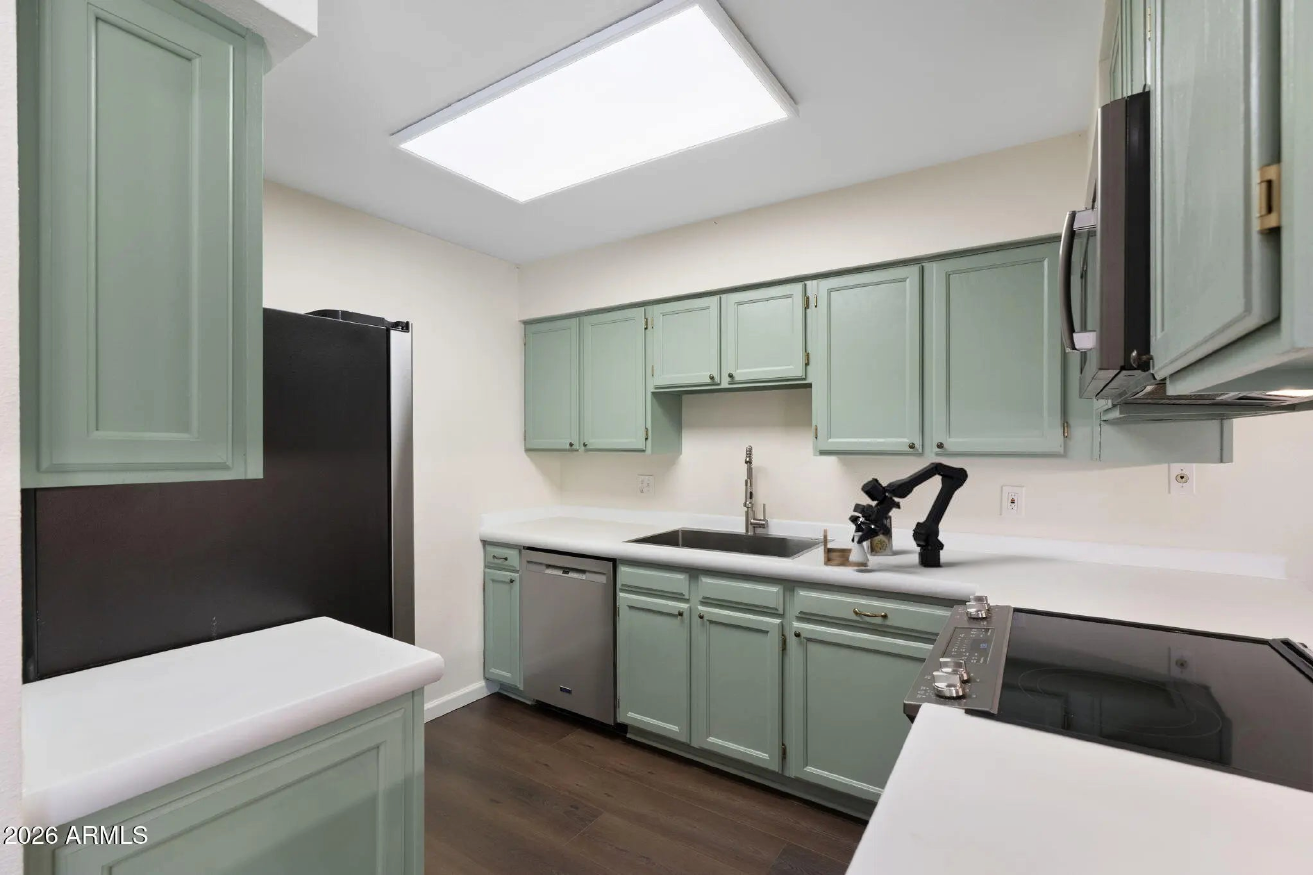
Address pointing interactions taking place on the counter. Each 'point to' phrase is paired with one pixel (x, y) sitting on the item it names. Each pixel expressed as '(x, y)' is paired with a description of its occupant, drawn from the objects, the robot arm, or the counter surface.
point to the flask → (858, 551)
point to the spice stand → (838, 555)
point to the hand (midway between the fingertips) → (854, 542)
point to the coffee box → (881, 542)
